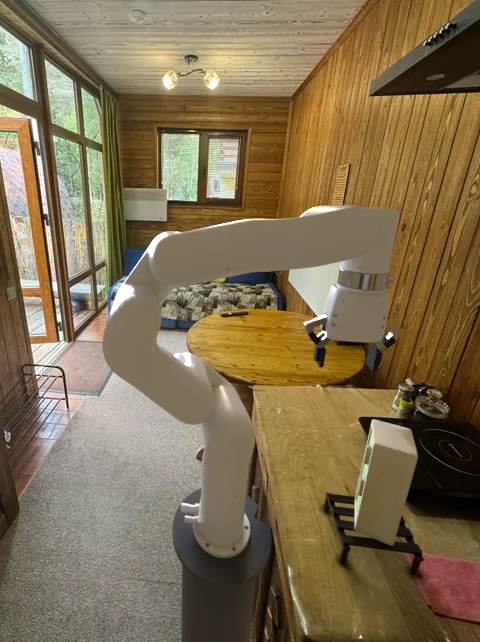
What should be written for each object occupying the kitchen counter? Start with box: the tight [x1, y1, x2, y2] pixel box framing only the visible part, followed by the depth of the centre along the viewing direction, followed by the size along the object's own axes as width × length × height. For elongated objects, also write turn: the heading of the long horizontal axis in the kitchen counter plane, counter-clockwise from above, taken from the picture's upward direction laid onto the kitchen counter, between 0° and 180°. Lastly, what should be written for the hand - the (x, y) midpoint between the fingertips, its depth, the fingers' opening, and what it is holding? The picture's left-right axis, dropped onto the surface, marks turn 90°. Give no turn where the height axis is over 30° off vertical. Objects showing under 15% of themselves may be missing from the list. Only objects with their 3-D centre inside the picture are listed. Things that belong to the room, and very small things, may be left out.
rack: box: [323, 492, 425, 576], centre depth 63 cm, size 14×12×5 cm
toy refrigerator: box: [354, 418, 419, 546], centre depth 59 cm, size 8×7×21 cm
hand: (344, 366), depth 60 cm, fingers open, 9 cm apart
